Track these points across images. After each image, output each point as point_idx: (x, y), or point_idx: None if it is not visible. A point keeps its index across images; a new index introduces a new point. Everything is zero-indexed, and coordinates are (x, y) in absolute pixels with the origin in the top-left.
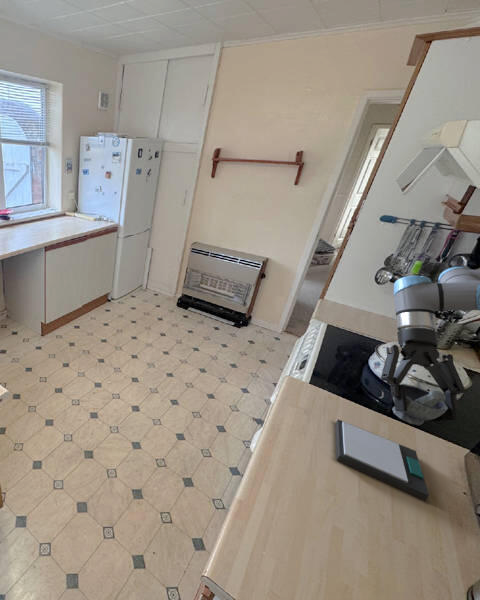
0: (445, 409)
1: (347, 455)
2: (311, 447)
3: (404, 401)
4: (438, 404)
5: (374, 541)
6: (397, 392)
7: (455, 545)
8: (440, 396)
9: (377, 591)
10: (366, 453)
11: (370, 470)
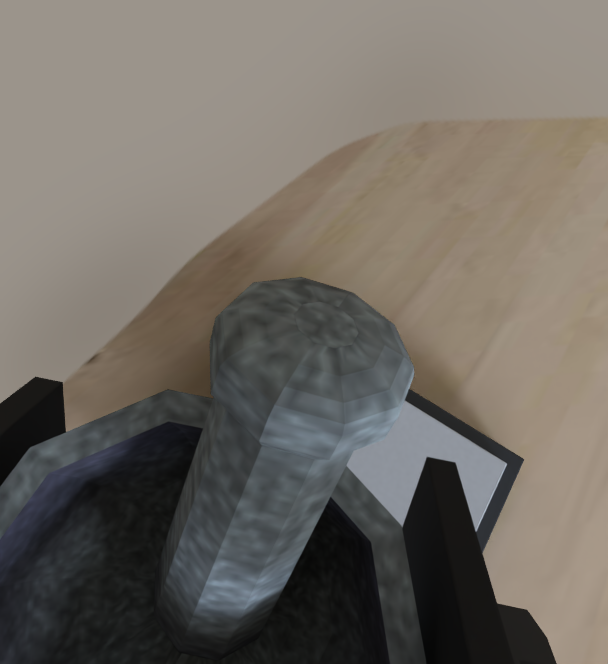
0: (88, 424)
1: (495, 457)
2: (590, 523)
3: (463, 529)
4: (5, 570)
5: (534, 204)
6: (528, 659)
7: (311, 205)
8: (317, 306)
9: (587, 120)
10: (405, 472)
11: (424, 401)
